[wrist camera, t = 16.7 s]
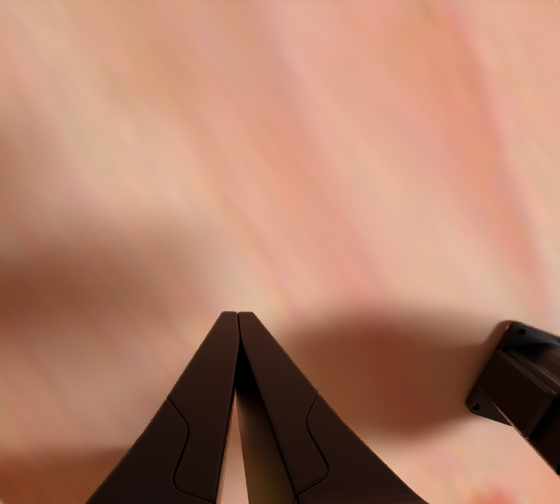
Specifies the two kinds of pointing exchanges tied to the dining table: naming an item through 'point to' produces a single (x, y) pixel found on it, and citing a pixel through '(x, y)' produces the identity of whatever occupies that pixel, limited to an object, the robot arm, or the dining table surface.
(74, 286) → the dining table surface
